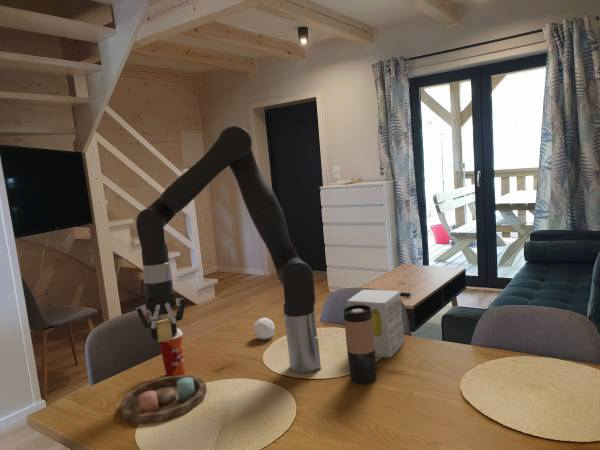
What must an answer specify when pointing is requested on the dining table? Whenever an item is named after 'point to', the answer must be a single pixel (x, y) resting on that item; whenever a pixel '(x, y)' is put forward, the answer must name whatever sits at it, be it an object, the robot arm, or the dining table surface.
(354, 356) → the travel mug
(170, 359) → the paper cup
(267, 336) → the geometric ball
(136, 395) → the walnut tray
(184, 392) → the pale blue rounded piece
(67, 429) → the dining table surface
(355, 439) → the dining table surface
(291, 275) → the robot arm
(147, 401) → the pink rounded piece
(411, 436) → the dining table surface
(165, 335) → the ochre bead
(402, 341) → the supplement box
